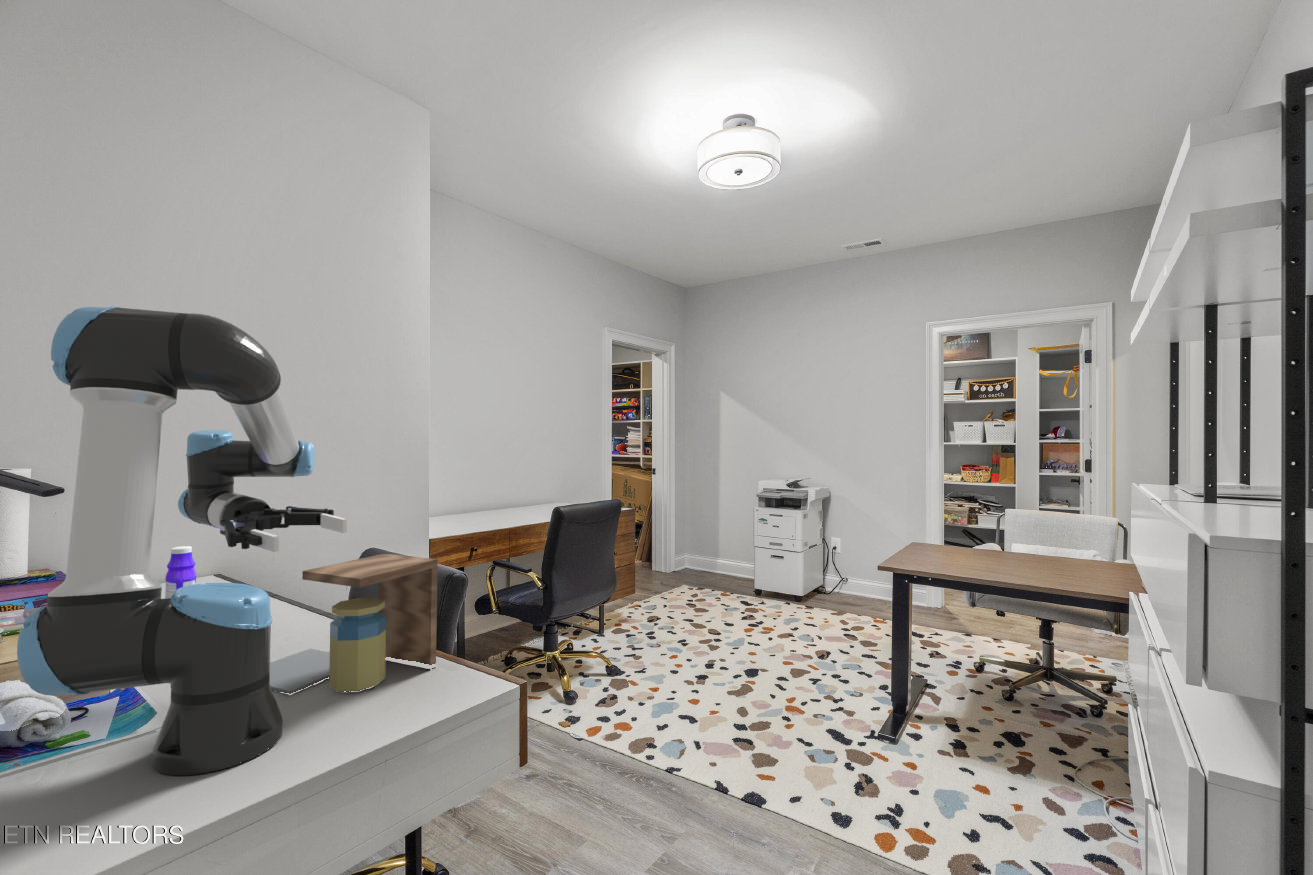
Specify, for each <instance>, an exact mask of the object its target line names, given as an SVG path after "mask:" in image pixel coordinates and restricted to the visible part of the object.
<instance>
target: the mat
mask: <svg viewBox="0 0 1313 875" xmlns="http://www.w3.org/2000/svg"><path fill="white" fill-rule="evenodd" d="M329 667H330V651H329V652H328V651H323V650H319V649H315V648H308V649H305V650H303V651H299V652H297V653H294V654H290V655H288V656H285V657H282V658H280V659H276V660H274V661H270V687H271V690H272V692H273V691H276V692H275V693H277V692H284V693H289V694H291V693H293V692H296V691H298V690H301V689H304V688H306V687H308V686H310V685H313V684H314V683H317V682H319V681H321V680H323V679H325V678H328V677H329Z"/></svg>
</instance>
